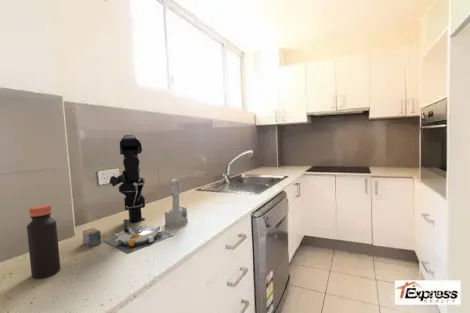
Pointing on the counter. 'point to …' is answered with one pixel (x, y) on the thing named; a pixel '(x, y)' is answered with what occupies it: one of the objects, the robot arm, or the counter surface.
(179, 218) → the engine component
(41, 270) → the bottle
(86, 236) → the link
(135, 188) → the robot arm
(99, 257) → the counter surface
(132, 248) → the cover plate
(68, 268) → the counter surface
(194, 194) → the counter surface
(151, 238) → the sprocket
